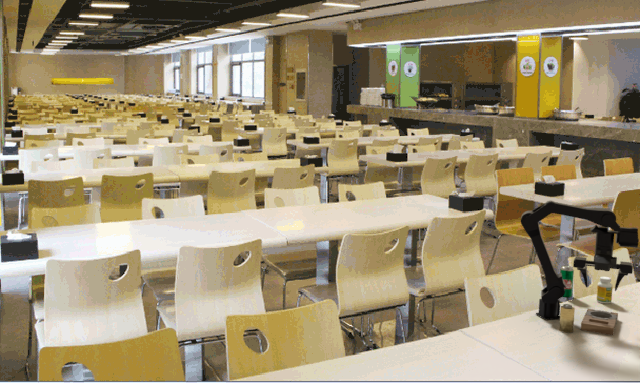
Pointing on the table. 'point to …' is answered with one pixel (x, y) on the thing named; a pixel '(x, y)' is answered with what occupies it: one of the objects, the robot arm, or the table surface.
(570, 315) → the tan salt shaker
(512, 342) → the table surface
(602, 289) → the supplement bottle
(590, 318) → the socket block
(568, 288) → the soda can
